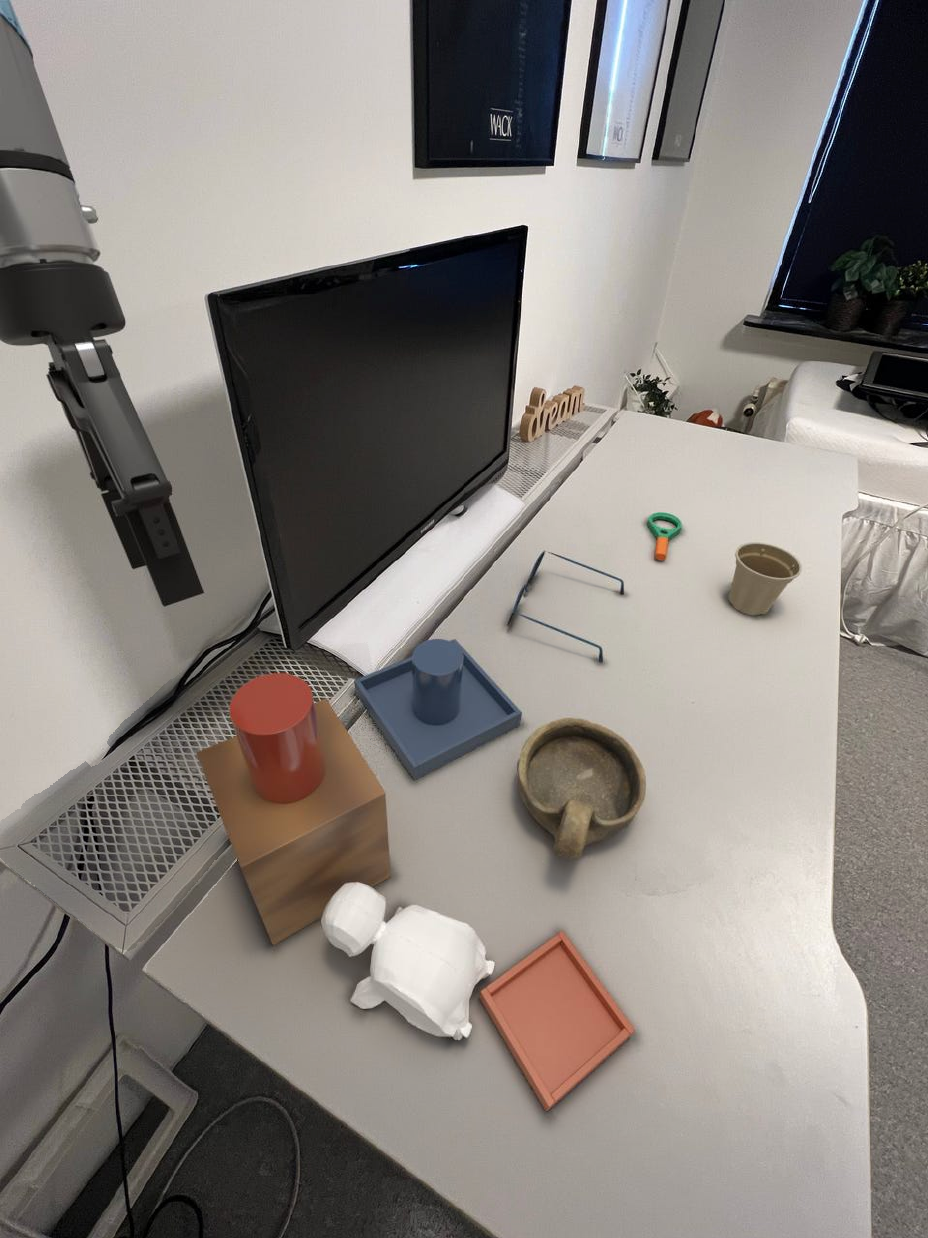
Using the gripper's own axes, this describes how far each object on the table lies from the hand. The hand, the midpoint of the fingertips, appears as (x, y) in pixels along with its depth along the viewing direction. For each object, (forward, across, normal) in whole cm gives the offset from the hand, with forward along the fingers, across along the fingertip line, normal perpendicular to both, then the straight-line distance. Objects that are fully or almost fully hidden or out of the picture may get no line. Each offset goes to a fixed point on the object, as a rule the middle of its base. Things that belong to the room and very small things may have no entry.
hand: (164, 579), depth 46 cm
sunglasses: (+27, +11, -52) cm, 59 cm away
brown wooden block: (+31, -1, -3) cm, 31 cm away
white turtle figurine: (+36, -14, -5) cm, 39 cm away
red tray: (+40, -24, -13) cm, 49 cm away
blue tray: (+28, +7, -24) cm, 38 cm away
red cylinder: (+17, -6, -3) cm, 19 cm away
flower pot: (+32, -3, -78) cm, 84 cm away
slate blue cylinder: (+28, +7, -24) cm, 38 cm away
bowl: (+35, -12, -28) cm, 47 cm away
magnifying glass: (+25, +16, -81) cm, 86 cm away
